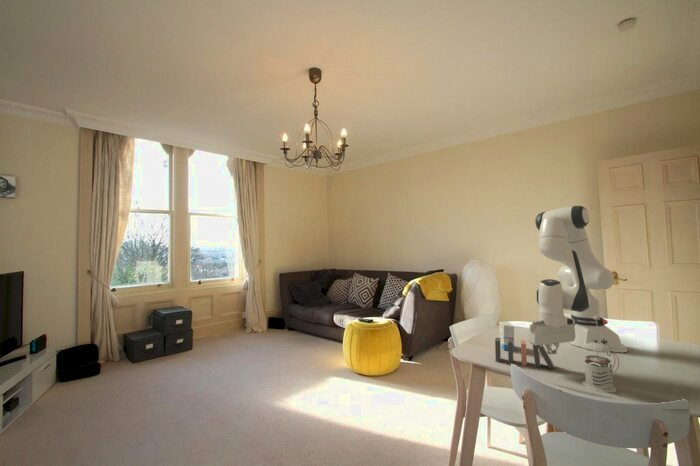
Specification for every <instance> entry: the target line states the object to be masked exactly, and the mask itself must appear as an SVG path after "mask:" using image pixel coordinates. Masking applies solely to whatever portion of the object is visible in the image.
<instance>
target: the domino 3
mask: <svg viewBox="0 0 700 466" xmlns="http://www.w3.org/2000/svg"><path fill="white" fill-rule="evenodd" d="M520 346H521V347H520V349H521V351H520V355H521V366H524V367H527V365H528V364H527V341H526V340H523V339H522V340H520Z"/></svg>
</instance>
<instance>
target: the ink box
mask: <svg viewBox="0 0 700 466" xmlns="http://www.w3.org/2000/svg"><path fill="white" fill-rule="evenodd" d="M498 323H499V326H498V327H499V328H498V329H499V330H498V331H499V333H498V334H499V336H498V338H500V348H501V349H502V350H503V351H508V339H513V352H514V351H515V326H514V325H513V324H512V323H511V322H509V321H499V322H498Z"/></svg>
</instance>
